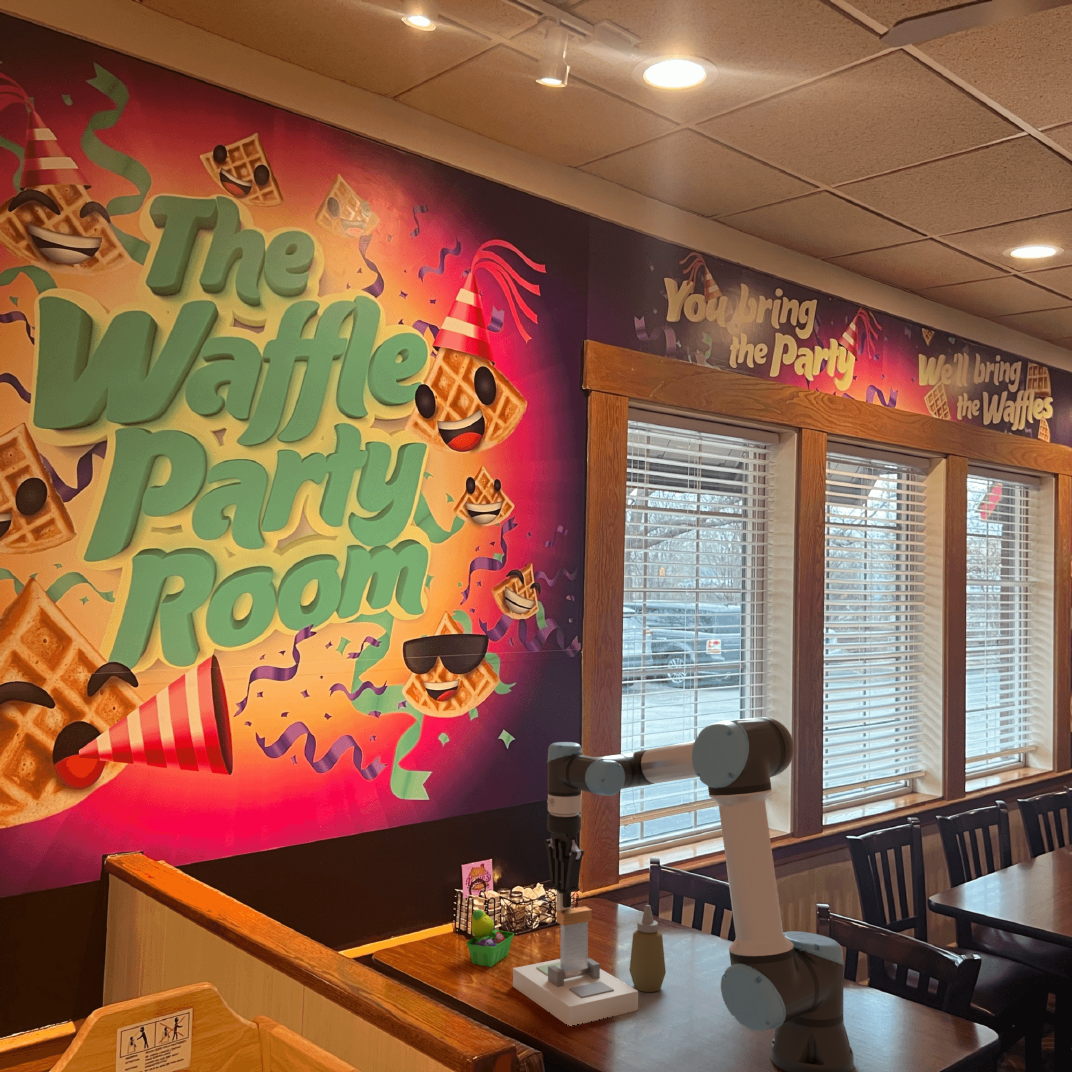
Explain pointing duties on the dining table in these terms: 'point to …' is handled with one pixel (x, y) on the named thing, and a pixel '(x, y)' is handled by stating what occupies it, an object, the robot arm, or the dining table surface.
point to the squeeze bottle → (647, 954)
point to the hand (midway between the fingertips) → (563, 920)
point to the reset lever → (574, 941)
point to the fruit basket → (487, 941)
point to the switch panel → (575, 992)
